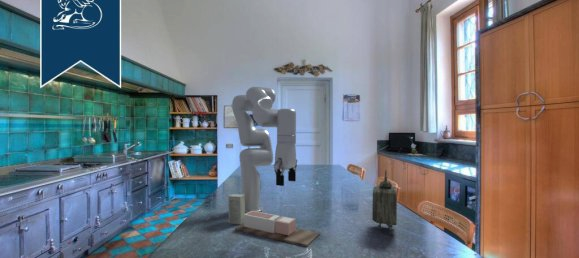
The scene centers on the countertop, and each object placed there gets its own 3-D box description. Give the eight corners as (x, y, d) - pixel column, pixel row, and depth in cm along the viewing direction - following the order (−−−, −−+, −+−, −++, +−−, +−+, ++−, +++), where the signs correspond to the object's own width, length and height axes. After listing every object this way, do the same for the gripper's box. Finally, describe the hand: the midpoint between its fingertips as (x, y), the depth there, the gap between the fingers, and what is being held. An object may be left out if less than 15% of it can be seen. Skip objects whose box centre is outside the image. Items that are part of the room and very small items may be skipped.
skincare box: (245, 221, 120) (245, 194, 120) (240, 225, 116) (240, 196, 116) (232, 220, 122) (233, 193, 122) (227, 223, 118) (227, 195, 118)
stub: (275, 232, 105) (275, 220, 105) (282, 227, 110) (282, 216, 110) (288, 235, 102) (288, 223, 102) (295, 230, 107) (295, 218, 107)
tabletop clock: (396, 237, 104) (397, 173, 104) (372, 234, 107) (372, 171, 107) (395, 225, 117) (396, 168, 117) (373, 222, 121) (374, 167, 120)
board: (235, 229, 110) (235, 227, 110) (252, 220, 121) (252, 219, 121) (307, 247, 95) (307, 244, 95) (319, 235, 106) (319, 233, 106)
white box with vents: (243, 226, 112) (243, 214, 112) (252, 222, 117) (252, 210, 117) (274, 233, 105) (274, 220, 105) (281, 228, 110) (281, 215, 110)
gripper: (288, 139, 115) (288, 178, 115) (266, 140, 100) (266, 186, 100) (304, 139, 112) (304, 180, 112) (284, 141, 96) (283, 188, 96)
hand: (286, 183), depth 106 cm, fingers open, 9 cm apart
